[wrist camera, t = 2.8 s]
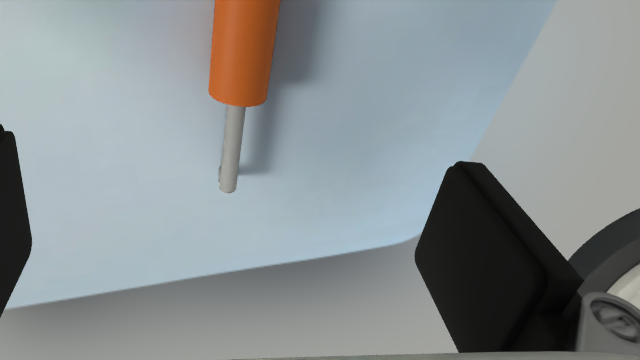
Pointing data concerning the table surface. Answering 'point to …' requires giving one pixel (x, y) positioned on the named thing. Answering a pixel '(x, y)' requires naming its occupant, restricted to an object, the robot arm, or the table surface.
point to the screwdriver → (240, 69)
